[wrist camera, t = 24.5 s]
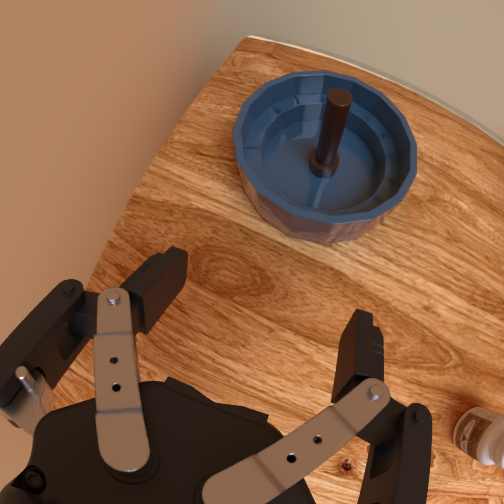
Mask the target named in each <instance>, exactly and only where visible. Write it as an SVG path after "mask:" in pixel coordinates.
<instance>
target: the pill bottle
mask: <svg viewBox="0 0 504 504" xmlns="http://www.w3.org/2000/svg"><path fill="white" fill-rule="evenodd" d="M453 443H454V445H455V446H456V447H457V448H459V449H460V450H462V451H463V452H464V453H466V454H467V455H469V456H470V457H472V458H474V459H475V460H477V461H479V462H480V463H482V464H484V465H493V464H495V465H497V466H499V467H501V468H503V469H504V415H502V414H499V413H496V412H493V411H490V410H487V409H485V408H482V407H474V408H472V409H470V410H468V411H467V412H465V413H464V414H463V415H462V416H461V418H460V419H459V420H458V422H457V424H456V426H455V428H454V432H453Z"/></svg>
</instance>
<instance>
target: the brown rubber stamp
mask: <svg viewBox="0 0 504 504" xmlns="http://www.w3.org/2000/svg"><path fill="white" fill-rule="evenodd" d="M352 101H353V99H352V96H351V94H350V93H349V92H348V91H346V90H344V89H342V88H332V89H330V90H329V91H328V92H327V96H326V101H325V107H324V113H323V118H322V124H321V129H320V134H319V140H318V145H317V147H316V148H314V149H313V150H312V152H311V155H310V161H309V168H310V171H311V172H312V173H313V174H314V175H315V176H317V177H319V178H324V179H325V178H330V177H332V176H333V175H334V174H335V173H336V170H337V167H338V164H339V155H338V153H337V151H338V148H339V145H340V141H341V138H342V135H343V132H344V128H345V125H346V121H347V118H348V115H349V111H350V108H351V104H352Z"/></svg>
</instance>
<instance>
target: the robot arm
mask: <svg viewBox="0 0 504 504" xmlns="http://www.w3.org/2000/svg"><path fill="white" fill-rule="evenodd" d="M187 260H188V253H187V251H185V250H182V249H179V248H177V247H174V246H171V247H170V248H169V249H168V250H167V251H166V252H165V253H164V254H161V253H157V254H155V255H153V256H151V257H149V258H148V259H147V260H146V261H145V262H144V263H143V265H141V266H140V267H139V268H138V270H136V271H135V272H134V273H133V274H132V275H131V276H130V277H129V278H128V279H127V280H126V281H125V282H124V283H123V284H122V285H121V286H120V287H110V288H107V289H105V290H103V291H102V292H101V293H95V292H89V291H84V288H83V285H82V283H81V282H80V281H78V280H74V279H68V280H64V281H62V282H60V283H59V284H58V285H57V286H56V287H55V288H54V289H53V290H52V291H51V292H50V293H49V294H48V295H47V296H46V297H45V298H44V299H43V300H42V301H41V302H40V303H39V304H38V305H37V306H36V307H35V308H34V309H33V310H32V311H31V312H30V313H29V314H28V316H27V317H26V318H25V319H24V320H23V321H22V322H21V323H20V324H19V325H18V326H17V327H16V329H15V330H14V331H13V332H12V333H11V334H10V335H9V336H8V338H7V339H6V340H5V341H4V342H3V343H2V344H1V346H0V414H1V415H2V416H3V417H4V418H5V419H7V420H8V421H9V422H10V423H11V424H12V425H13V426H15V427H18V428H22V429H23V430H25V432H27V433H28V434H29V435H31V436H32V437H33V445H32V452H31V456H30V459H29V462H28V464H27V466H26V468H25V469H24V470H23V471H22V472H21V473H20V474H19V475H18V476H17V477H16V478H14V479H13V480H12V481H11V482H10V483H8V484H7V485H6V486H5V487H4V488H3V489H2V491H1V492H0V504H316V503H315V501H314V499H313V497H312V494H311V492H310V490H309V488H308V486H307V484H306V482H305V480H304V477H305V476H307V475H308V474H309V473H311V472H312V471H313V470H315V469H316V468H317V467H319V466H320V465H321V464H322V463H324V462H325V461H326V460H327V459H329V458H330V457H331V456H332V455H334V454H335V453H336V452H337V451H338V450H340V449H341V448H342V447H343V446H344V445H345V444H347V443H348V442H349V441H350V440H351V439H352V438H353V437H354V436H357V437H359V438H361V439H363V440H364V441H366V442H368V443H370V448H369V453H368V459H367V464H366V469H365V473H364V478H363V482H362V487H361V491H360V495H359V499H358V503H357V504H426V499H427V492H428V483H429V473H430V462H431V445H432V416H431V413H430V411H429V410H428V408H427V407H425V406H424V405H422V404H420V403H412V404H410V405H409V406H408V407H406V406H404V405H402V404H401V403H399V402H397V401H395V400H394V399H393V398H391V397H390V391H389V389H388V387H387V386H386V384H385V383H384V355H383V354H384V348H383V346H384V341H383V335H382V333H381V331H380V328H379V327H376V326H373V314H372V313H369V312H366V311H363V310H360V309H356V310H355V312H354V313H353V315H352V317H351V319H350V321H349V322H348V324H347V326H346V328H345V329H344V331H343V333H342V336H341V339H340V343H339V350H338V357H337V365H336V372H335V379H334V385H333V391H332V398H331V403H334V405H333V406H328V407H327V408H325V409H324V410H323V411H321V412H320V413H318V414H317V415H316V416H314V417H313V418H311V419H310V420H309V421H307V422H306V423H304V424H303V425H301V426H300V427H298V428H297V429H295V430H294V431H292V432H291V433H289V434H288V435H286V436H285V437H284V436H283V435H282V434H281V432H280V431H279V430H278V429H276V428H275V427H274V426H273V425H271V424H270V423H268V422H267V419H268V416H269V415H268V414H264V413H261V412H258V411H255V410H252V409H249V408H247V407H244V406H236V405H229V404H221V403H216V402H213V401H212V400H210V399H209V398H207V397H206V396H204V395H203V394H202V393H200V392H199V391H197V390H196V389H195V388H193V387H192V386H190V385H187V384H185V383H183V382H180V381H178V380H176V379H174V378H172V377H169V376H168V377H167V379H166V381H165V382H161V381H145V382H142V381H141V376H140V370H139V363H138V356H137V348H136V339H135V336H136V334H137V333H138V332H139V331H140V332H142V333H144V334H146V335H147V334H148V333H149V331H150V330H151V329H152V327H153V326H154V325H155V323H156V322H157V321H158V319H159V318H160V317H161V315H162V314H163V313H164V312H165V310H166V309H167V308H168V306H169V305H170V304H171V302H172V301H173V300H174V299H175V297H176V296H177V295H178V293H179V292H180V291H181V290H182V288H183V286H184V284H185V281H186V275H187ZM91 338H92V339H94V378H95V396H96V397H95V398H92V399H89V400H86V401H83V402H80V403H76V404H73V405H70V406H67V407H63V408H60V409H56V410H53V411H51V412H50V410H51V409H52V404H53V401H54V393H53V389H54V387H55V386H56V385H57V383H58V382H59V380H60V379H61V378H62V376H63V375H64V373H65V372H66V371H67V369H68V368H69V367H70V365H71V364H72V362H73V361H74V360H75V358H76V357H77V356H78V354H79V353H80V352H81V350H82V349H83V348H84V346H85V345H86V344H87V343H88V341H89V340H90V339H91Z"/></svg>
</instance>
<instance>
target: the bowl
mask: <svg viewBox="0 0 504 504" xmlns="http://www.w3.org/2000/svg"><path fill="white" fill-rule="evenodd" d="M332 88H342V89H344V90H346V91H348V92H349V93H350V94H351V96H352V99H353V101H352V104H351V108H350V111H349V115H348V118H347V121H346V125H345V128H344V132H343V135H342V138H341V141H340V145H339V148H338V151H337V153H338V155H339V164H338V167H337V170H336V173H335V174H334V175H333V176H332V177H330V178H325V179H324V178H319V177H317V176H315V175H314V174H313V173H312V172H311V171H310V168H309V161H310V155H311V152H312V150H313V149H314V148H316V147H317V145H318V140H319V134H320V129H321V124H322V118H323V113H324V107H325V101H326V96H327V92H328V91H329V90H330V89H332ZM233 138H234V146H235V154H236V161H237V165H238V168H239V172H240V176H241V180H242V184H243V187H244V191H245V192H246V194H247V195H248V197H249V199H250V200H251V202H252V203H253V205H254V206H255V208H256V210H257V211H258V213H259V214H260V216H261V217H262V218H264V219H265V220H267V221H268V222H269V223H271V224H272V225H274V226H275V227H277V228H278V229H279V230H281V231H282V232H284V233H285V234H287V235H288V236H291V237H295V238H299V239H303V240H307V241H311V242H315V243H320V244H329V243H336V242H342V241H349V240H355V239H357V238H359V237H360V236H362V235H364V234H365V233H367V232H368V231H370V230H371V229H373V228H374V227H376V226H378V225H379V224H381V223H382V222H383V221H384V219H385V218H386V217H387V216H388V215H389V214H390V213H391V212H392V211H393V210H394V209H395V208H396V207H397V206H398V205H399V204H400V203H401V202H402V200H403V199H404V197H405V195H406V193H407V191H408V190H409V188H410V186H411V184H412V182H413V180H414V178H415V177H416V174H417V143H416V141H415V138H414V136H413V134H412V131H411V129H410V127H409V125H408V122H407V120H406V118H405V116H404V115H403V114H402V113H401V111H400V110H399V109H398V108H397V107H396V106H395V105H394V104H393V103H392V102H391V101H390V100H389V99H388V98H387V97H386V96H385V95H384V94H383V93H382V92H380V91H378V90H377V89H375V88H373V87H371V86H370V85H368V84H366V83H364V82H362V81H361V80H359V79H357V78H355V77H351V76H347V75H343V74H338V73H334V72H329V71H325V70H324V71H323V70H319V71H302V72H291V73H289V74H286V75H284V76H281V77H279V78H276V79H274V80H271V81H269V82H266V83H264V84H263V85H262V86H261V87H260V88H259V89H257V90H256V91H255V92H254V93H253V94H252V95H251V96H250V97H249V98H248V99H247V100H246V101H245V102H244V103H243V105H242V107H241V110H240V112H239V115H238V117H237V120H236V123H235V125H234V128H233Z"/></svg>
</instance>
